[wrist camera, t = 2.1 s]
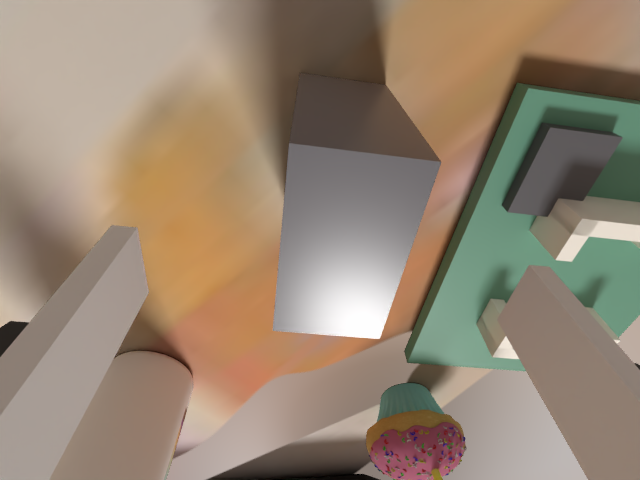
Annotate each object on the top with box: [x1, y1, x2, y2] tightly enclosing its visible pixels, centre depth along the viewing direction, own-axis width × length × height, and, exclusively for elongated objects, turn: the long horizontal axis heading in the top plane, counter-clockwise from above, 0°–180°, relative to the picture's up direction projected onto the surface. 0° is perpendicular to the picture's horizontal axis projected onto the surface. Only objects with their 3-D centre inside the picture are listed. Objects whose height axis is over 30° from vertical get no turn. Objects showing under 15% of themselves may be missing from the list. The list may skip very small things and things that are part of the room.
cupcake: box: [366, 383, 466, 480], centre depth 31 cm, size 9×8×12 cm
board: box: [405, 83, 640, 371], centre depth 24 cm, size 22×16×4 cm
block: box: [273, 73, 441, 339], centre depth 17 cm, size 9×4×10 cm, turn 172°
